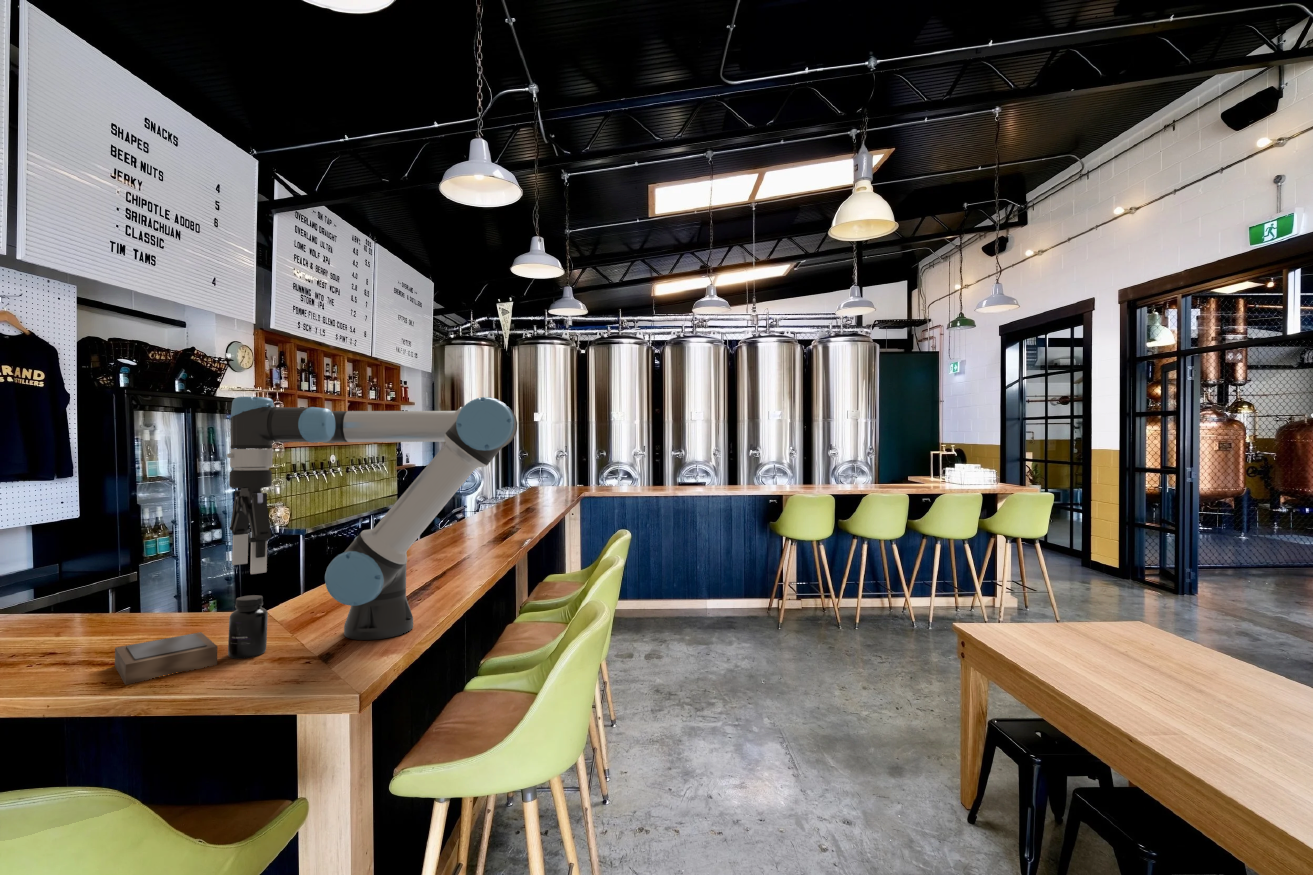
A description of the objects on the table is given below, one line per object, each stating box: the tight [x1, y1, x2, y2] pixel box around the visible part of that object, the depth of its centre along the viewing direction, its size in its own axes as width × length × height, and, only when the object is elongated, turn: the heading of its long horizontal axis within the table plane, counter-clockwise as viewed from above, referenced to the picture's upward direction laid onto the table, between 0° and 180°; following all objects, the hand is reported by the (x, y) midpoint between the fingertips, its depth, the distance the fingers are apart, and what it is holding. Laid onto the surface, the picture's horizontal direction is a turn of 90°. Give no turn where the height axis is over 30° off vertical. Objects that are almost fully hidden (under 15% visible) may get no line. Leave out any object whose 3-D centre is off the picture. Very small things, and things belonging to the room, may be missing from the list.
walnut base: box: [114, 631, 218, 686], centre depth 121 cm, size 14×14×4 cm
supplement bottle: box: [227, 594, 269, 660], centre depth 128 cm, size 7×7×12 cm
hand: (248, 568), depth 128 cm, fingers open, 13 cm apart
